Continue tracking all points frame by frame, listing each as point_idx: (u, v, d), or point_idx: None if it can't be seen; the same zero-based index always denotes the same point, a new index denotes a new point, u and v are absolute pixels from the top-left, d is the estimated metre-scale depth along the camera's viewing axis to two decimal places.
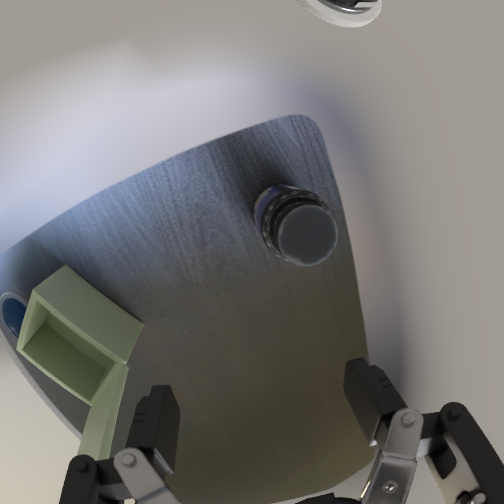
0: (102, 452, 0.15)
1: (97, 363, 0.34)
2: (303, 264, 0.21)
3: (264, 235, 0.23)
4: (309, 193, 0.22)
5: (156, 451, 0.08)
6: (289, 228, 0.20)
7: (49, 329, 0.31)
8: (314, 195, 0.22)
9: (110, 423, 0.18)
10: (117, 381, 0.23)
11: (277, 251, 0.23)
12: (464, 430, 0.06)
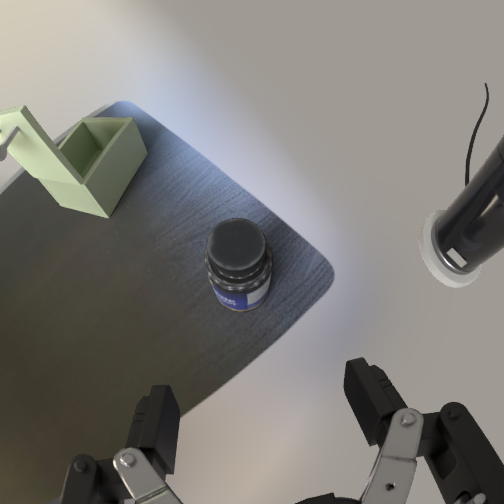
0: (35, 122, 0.19)
1: None
2: (209, 249, 0.22)
3: None
4: (271, 252, 0.25)
5: (156, 451, 0.08)
6: (235, 225, 0.23)
7: (93, 151, 0.41)
8: (271, 257, 0.25)
9: (49, 143, 0.22)
10: (73, 167, 0.27)
11: None
12: (464, 430, 0.06)
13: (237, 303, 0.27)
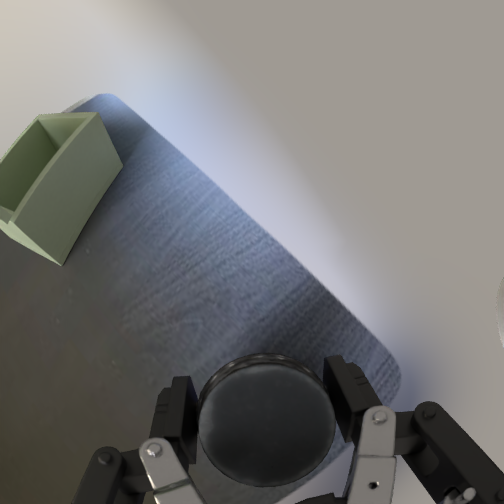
0: None
1: None
2: (204, 440, 0.08)
3: (227, 365, 0.12)
4: None
5: (181, 440, 0.08)
6: (268, 385, 0.09)
7: None
8: None
9: None
10: None
11: (208, 396, 0.11)
12: (442, 428, 0.06)
13: None
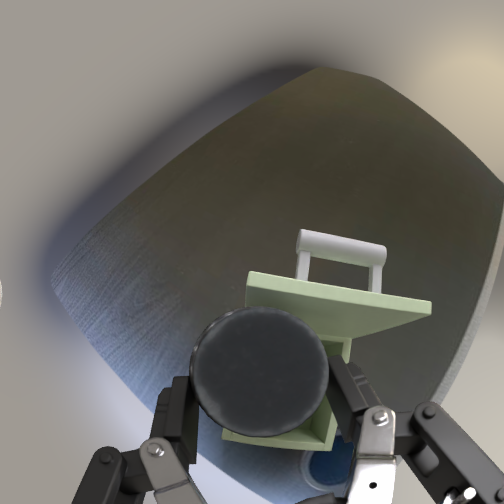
0: None
1: None
2: (223, 422, 0.08)
3: (193, 351, 0.12)
4: None
5: (181, 440, 0.08)
6: (232, 338, 0.09)
7: (312, 422, 0.30)
8: None
9: None
10: None
11: None
12: (442, 428, 0.06)
13: None
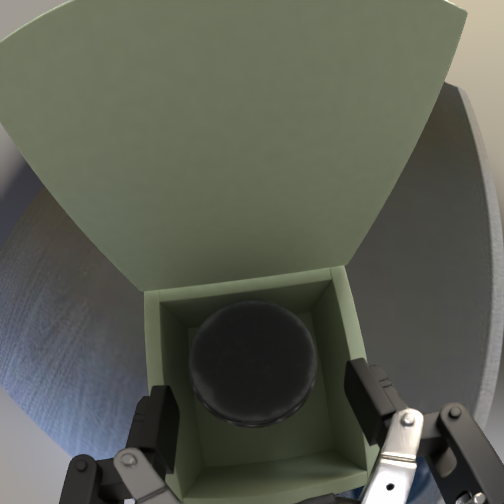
0: (11, 130, 0.05)
1: (313, 329, 0.21)
2: (215, 405, 0.09)
3: None
4: None
5: (156, 451, 0.08)
6: (225, 327, 0.10)
7: (333, 437, 0.17)
8: None
9: None
10: None
11: None
12: (464, 430, 0.06)
13: None
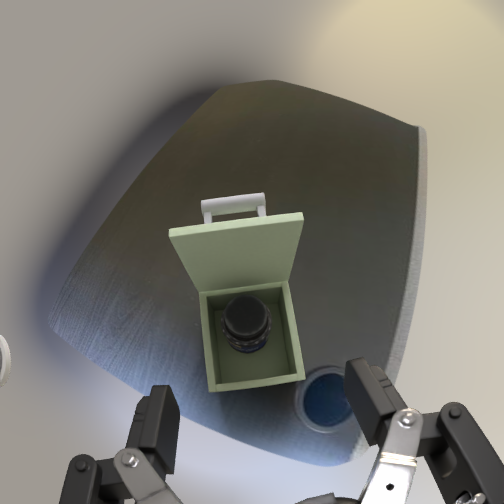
0: (175, 248, 0.25)
1: (279, 311, 0.41)
2: (233, 330, 0.29)
3: (222, 313, 0.33)
4: None
5: (156, 451, 0.08)
6: (236, 303, 0.31)
7: (289, 368, 0.37)
8: (266, 306, 0.33)
9: None
10: (194, 284, 0.33)
11: (224, 325, 0.32)
12: (464, 430, 0.06)
13: (259, 346, 0.35)
